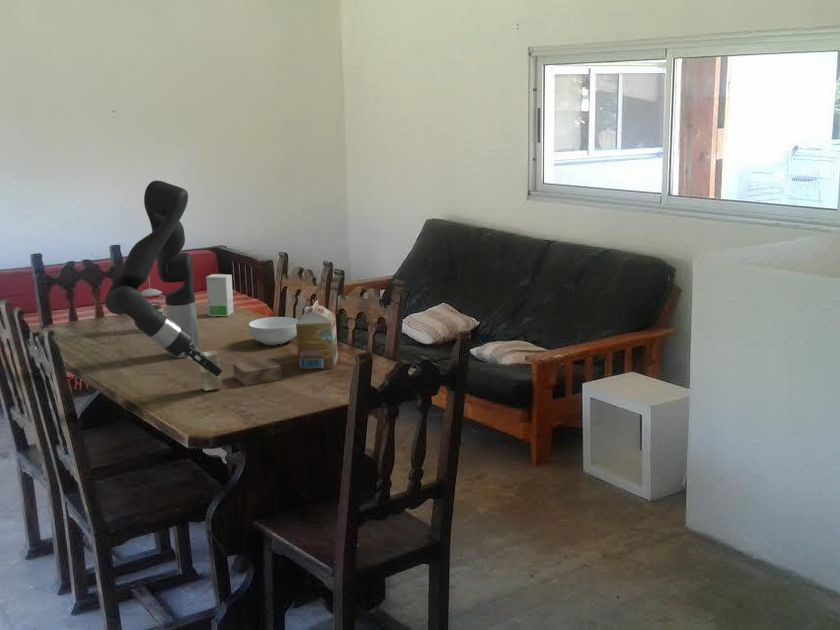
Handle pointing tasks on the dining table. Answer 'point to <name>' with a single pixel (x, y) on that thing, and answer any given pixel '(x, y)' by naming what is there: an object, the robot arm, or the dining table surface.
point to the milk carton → (317, 338)
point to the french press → (154, 293)
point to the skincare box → (219, 294)
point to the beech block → (207, 377)
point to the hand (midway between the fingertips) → (216, 371)
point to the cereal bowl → (273, 330)
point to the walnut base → (257, 371)
